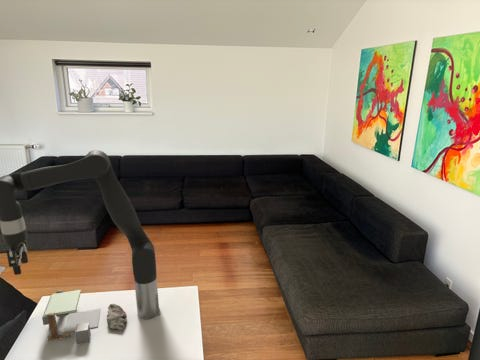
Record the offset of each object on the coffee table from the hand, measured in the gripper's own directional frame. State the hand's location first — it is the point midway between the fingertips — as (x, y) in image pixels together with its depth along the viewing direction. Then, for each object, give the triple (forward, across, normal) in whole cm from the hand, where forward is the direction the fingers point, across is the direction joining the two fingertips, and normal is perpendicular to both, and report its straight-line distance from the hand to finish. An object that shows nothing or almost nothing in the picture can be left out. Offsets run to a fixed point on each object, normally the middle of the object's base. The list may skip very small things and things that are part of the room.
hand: (21, 268), depth 132 cm
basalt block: (+29, -10, -20) cm, 37 cm away
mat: (+29, +2, -18) cm, 34 cm away
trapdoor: (+23, +2, -11) cm, 26 cm away
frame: (+29, +2, -10) cm, 31 cm away
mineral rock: (+30, -2, -32) cm, 44 cm away
